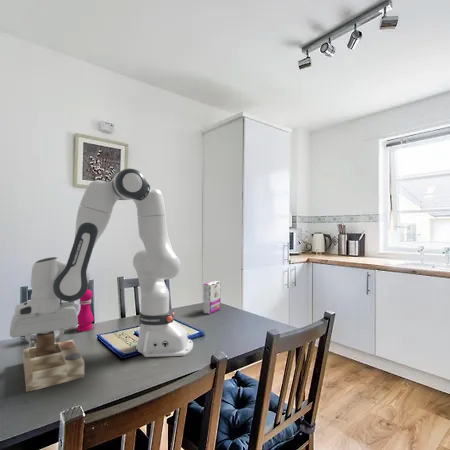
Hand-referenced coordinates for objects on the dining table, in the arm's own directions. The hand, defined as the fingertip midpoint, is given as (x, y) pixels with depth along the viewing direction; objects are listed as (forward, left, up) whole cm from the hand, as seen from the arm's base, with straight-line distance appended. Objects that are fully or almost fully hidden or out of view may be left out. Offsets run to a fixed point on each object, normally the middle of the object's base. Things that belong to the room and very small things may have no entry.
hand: (45, 344), depth 104 cm
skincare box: (+13, -23, -7) cm, 27 cm away
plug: (0, 0, -6) cm, 6 cm away
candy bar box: (-50, -71, -7) cm, 87 cm away
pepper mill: (+5, -35, -7) cm, 36 cm away
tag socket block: (-5, +3, -7) cm, 9 cm away
